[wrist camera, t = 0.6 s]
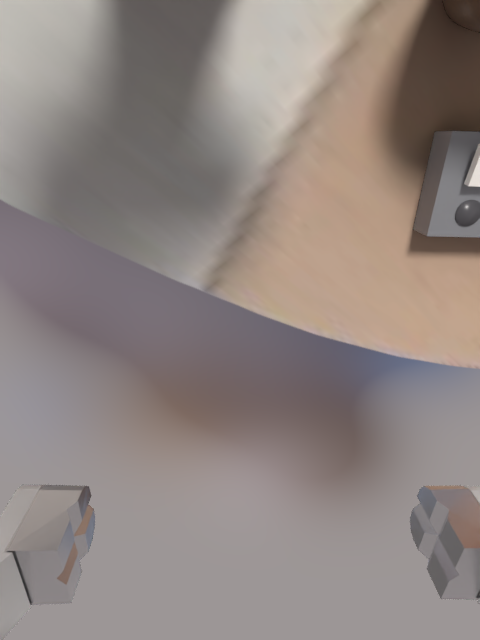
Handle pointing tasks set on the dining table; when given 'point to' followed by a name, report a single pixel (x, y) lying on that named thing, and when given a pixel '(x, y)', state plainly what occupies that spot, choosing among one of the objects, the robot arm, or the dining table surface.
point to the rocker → (474, 170)
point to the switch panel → (449, 188)
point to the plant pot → (464, 13)
